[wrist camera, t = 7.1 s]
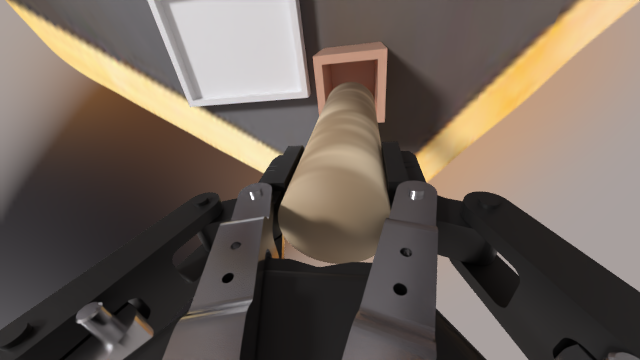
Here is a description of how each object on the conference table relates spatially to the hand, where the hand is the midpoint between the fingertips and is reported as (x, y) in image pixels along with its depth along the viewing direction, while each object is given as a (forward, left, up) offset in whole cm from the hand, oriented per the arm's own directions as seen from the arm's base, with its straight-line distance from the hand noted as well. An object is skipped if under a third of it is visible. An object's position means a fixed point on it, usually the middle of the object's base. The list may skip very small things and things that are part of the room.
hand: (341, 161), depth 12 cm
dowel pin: (0, 0, -9) cm, 9 cm away
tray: (+15, -5, -24) cm, 29 cm away
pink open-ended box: (0, 0, -24) cm, 24 cm away
